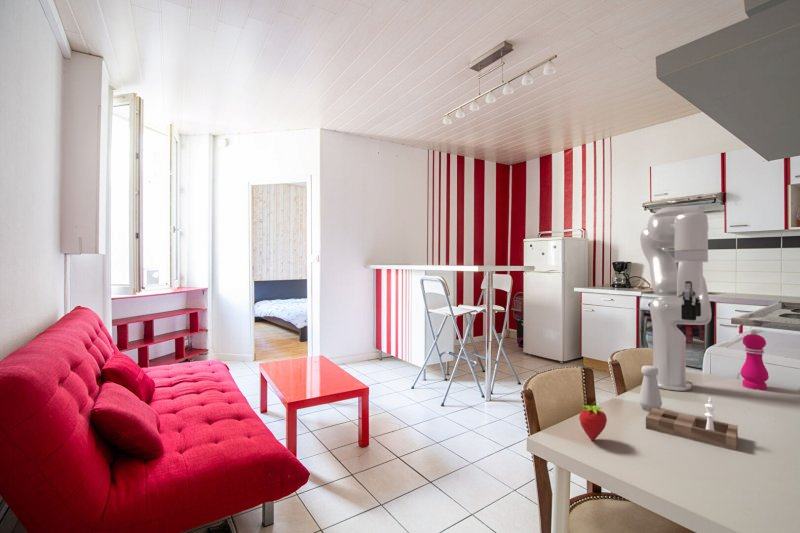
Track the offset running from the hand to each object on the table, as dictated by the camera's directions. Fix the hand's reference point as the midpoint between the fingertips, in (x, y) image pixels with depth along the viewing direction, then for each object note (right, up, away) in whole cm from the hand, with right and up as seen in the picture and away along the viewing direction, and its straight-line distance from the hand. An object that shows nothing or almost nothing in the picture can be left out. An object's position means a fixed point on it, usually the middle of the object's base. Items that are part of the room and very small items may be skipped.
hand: (691, 317), depth 108 cm
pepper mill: (+42, -28, +26) cm, 56 cm away
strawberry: (-34, -29, -13) cm, 46 cm away
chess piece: (-4, -29, -12) cm, 31 cm away
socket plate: (-7, -28, -9) cm, 31 cm away
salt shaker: (-7, -29, +7) cm, 30 cm away
